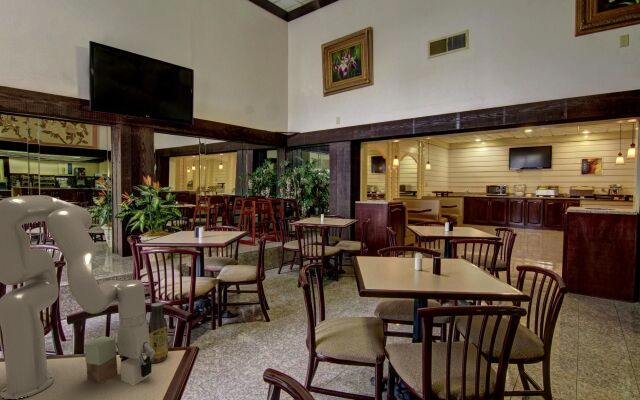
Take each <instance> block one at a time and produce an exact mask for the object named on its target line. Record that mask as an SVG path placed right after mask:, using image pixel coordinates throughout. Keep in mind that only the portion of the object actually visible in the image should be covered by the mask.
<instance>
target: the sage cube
mask: <svg viewBox="0 0 640 400" xmlns="http://www.w3.org/2000/svg"><path fill="white" fill-rule="evenodd" d="M116 343H117V342H116V337H110V336H103V335H102V336H99V337H97V338H95V339H93V340H90V341H89V342H86V343H84V356H85V357H84V358H85V364H86V363H90V364H95V365H101V364H103V363H105V362H106V361H108V360H110V359H112V358H114V357H115V356H116V357H117V346H116Z"/></svg>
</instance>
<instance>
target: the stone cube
mask: <svg viewBox="0 0 640 400" xmlns="http://www.w3.org/2000/svg"><path fill="white" fill-rule="evenodd" d="M143 358H144V359H146V358H147V357H146V355H145V356H143ZM141 365H142V363H141V361H140V359H132V358H128V359H127V360H125V361H123V362H121V361H120V376H121V377H120V378H121V382H124V383H127V384H130V385H133V386H135V385H137V384H138V383H140V382H141V381H143V380H145V379H146V378H148V377H150V376H151V375H152V372H151V373H150V374H148V375H147V376H145V377H142V376H141Z"/></svg>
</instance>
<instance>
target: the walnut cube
mask: <svg viewBox="0 0 640 400" xmlns="http://www.w3.org/2000/svg"><path fill="white" fill-rule="evenodd" d="M85 365H86V378H87V379H86V380H87V381H89V382H91V383H94V384H95V383H96V384H98V385H100V384H102V383H104V382H106V381H107V380H109V379H111V378H113V377H115V376H117V375H118V361H117V355H116V356H115V357H114V358H112V359H110V360H108V361H106V362H105V363H103V364H101V365H95V364H90V363H86V362H85Z"/></svg>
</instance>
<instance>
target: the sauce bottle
mask: <svg viewBox="0 0 640 400" xmlns="http://www.w3.org/2000/svg"><path fill="white" fill-rule="evenodd" d="M150 309H151V319H150V320H149V323H148V324H147V327H148V332H149V338H150V346H151V347H152V348H153V349H154V350H155V354H154V358H153V359H152V361H151V364H156V363H161V362H164V361H165V360H167V359H168V354H169V339H168V338H169V337H168V333H169V332H168V323H167V319H166V317H165V316H164V315H165V314H164V302H155V303H152V304H151V305H150Z"/></svg>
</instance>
